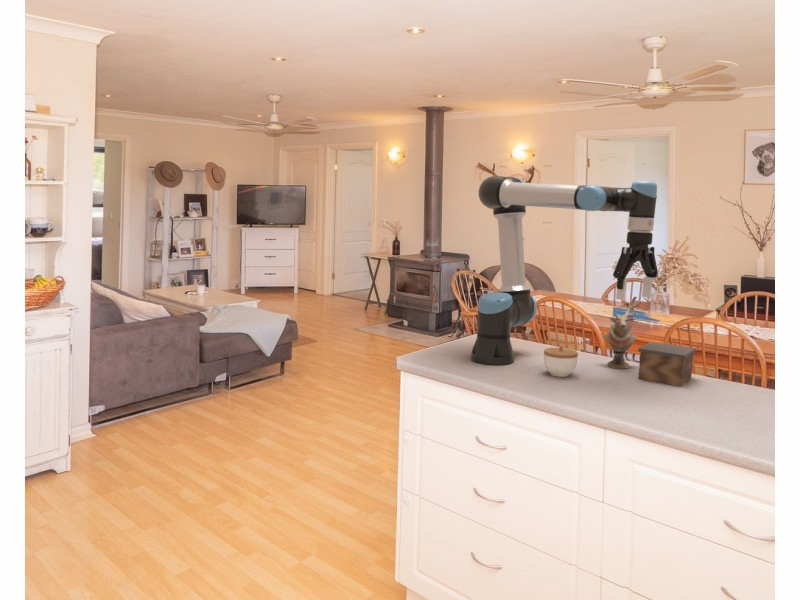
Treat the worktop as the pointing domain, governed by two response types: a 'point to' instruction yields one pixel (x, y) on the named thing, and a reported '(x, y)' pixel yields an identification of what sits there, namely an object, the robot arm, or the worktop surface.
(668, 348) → the block
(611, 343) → the decorative bust
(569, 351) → the lidded jar
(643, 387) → the worktop surface
